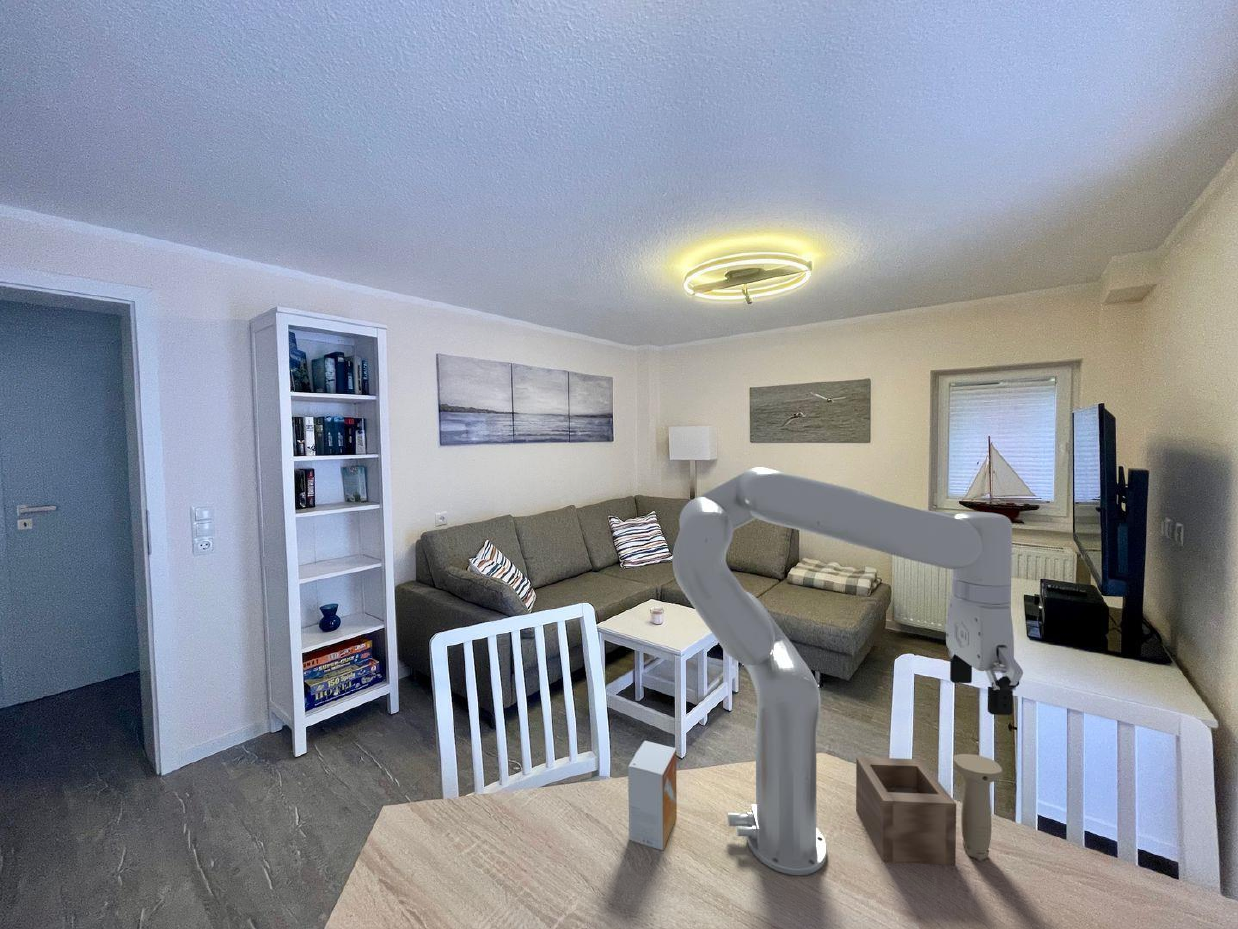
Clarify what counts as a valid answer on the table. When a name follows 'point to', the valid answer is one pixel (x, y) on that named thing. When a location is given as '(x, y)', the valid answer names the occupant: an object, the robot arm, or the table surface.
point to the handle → (976, 801)
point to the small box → (652, 794)
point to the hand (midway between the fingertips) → (979, 697)
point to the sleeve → (906, 811)
